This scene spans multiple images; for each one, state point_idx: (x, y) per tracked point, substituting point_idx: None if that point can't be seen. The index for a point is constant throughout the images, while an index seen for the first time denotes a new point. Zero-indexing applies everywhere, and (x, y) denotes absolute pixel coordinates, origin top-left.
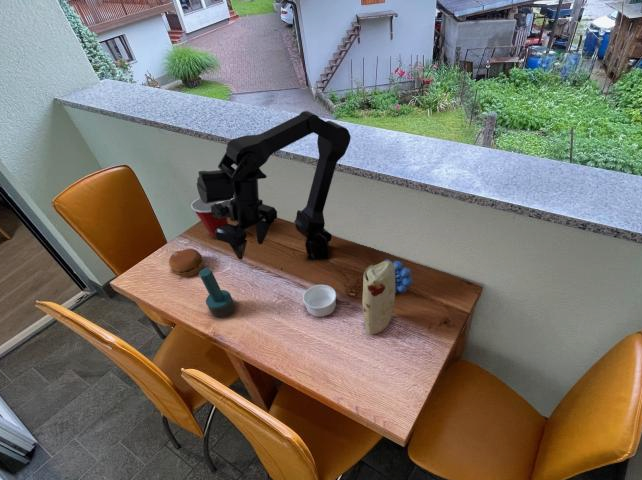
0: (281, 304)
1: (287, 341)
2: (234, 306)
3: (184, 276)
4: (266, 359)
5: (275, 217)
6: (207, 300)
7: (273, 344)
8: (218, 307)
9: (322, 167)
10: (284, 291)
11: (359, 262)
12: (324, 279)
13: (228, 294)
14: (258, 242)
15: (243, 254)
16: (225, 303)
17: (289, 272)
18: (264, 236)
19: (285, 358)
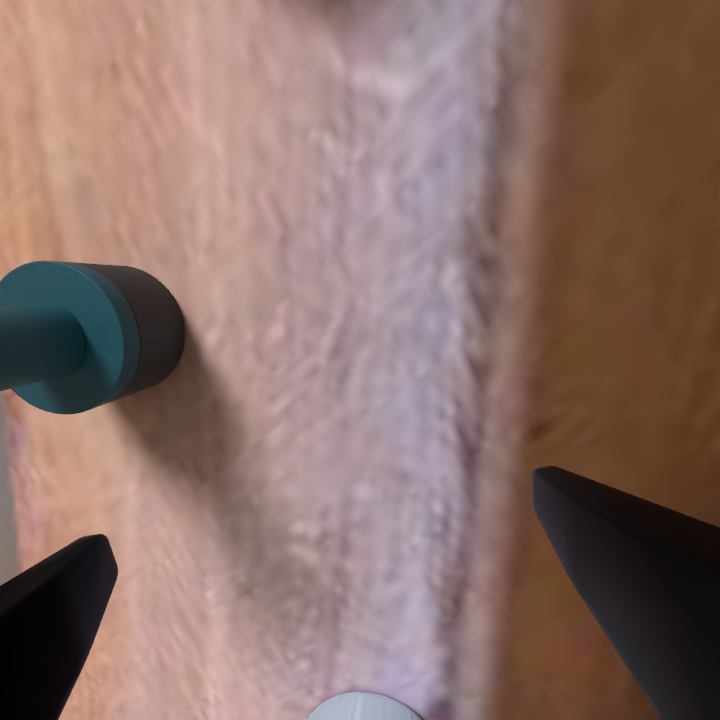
0: (294, 573)
1: (145, 690)
2: (151, 384)
3: None
4: None
5: None
6: (6, 289)
7: (107, 648)
8: (15, 389)
9: None
10: (377, 542)
11: None
12: (552, 692)
13: (108, 376)
14: (541, 487)
15: (58, 694)
16: (51, 410)
17: (528, 490)
18: (632, 674)
19: (86, 715)
